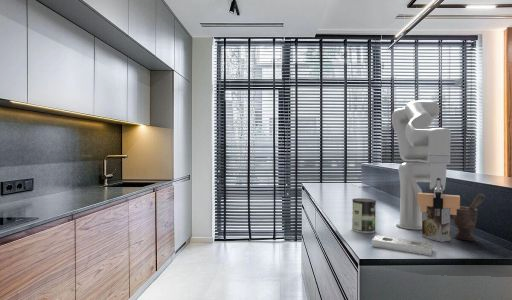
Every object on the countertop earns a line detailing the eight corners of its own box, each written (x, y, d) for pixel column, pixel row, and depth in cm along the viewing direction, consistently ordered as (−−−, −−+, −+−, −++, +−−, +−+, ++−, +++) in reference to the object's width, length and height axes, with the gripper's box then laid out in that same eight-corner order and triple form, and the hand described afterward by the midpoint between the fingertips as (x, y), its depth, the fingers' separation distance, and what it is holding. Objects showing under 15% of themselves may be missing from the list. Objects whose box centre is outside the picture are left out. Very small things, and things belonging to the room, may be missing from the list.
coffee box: (451, 240, 132) (452, 201, 133) (441, 242, 130) (442, 202, 130) (430, 235, 141) (431, 198, 141) (421, 236, 138) (421, 199, 138)
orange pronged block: (417, 211, 125) (417, 193, 125) (417, 210, 129) (418, 192, 129) (459, 215, 118) (460, 196, 118) (459, 213, 122) (459, 195, 122)
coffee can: (377, 229, 149) (378, 199, 149) (372, 234, 140) (373, 202, 140) (355, 226, 154) (355, 197, 154) (349, 231, 145) (349, 200, 145)
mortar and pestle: (487, 240, 133) (488, 192, 133) (483, 244, 127) (484, 194, 127) (455, 235, 141) (456, 190, 141) (450, 238, 135) (451, 191, 135)
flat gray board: (371, 246, 122) (371, 239, 122) (375, 241, 129) (375, 235, 129) (431, 255, 112) (431, 248, 112) (432, 249, 119) (432, 243, 119)
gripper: (428, 159, 133) (427, 203, 133) (427, 160, 118) (426, 210, 118) (449, 160, 129) (448, 205, 129) (450, 161, 114) (450, 212, 114)
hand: (438, 207), depth 123 cm, fingers closed on orange pronged block, 4 cm apart
